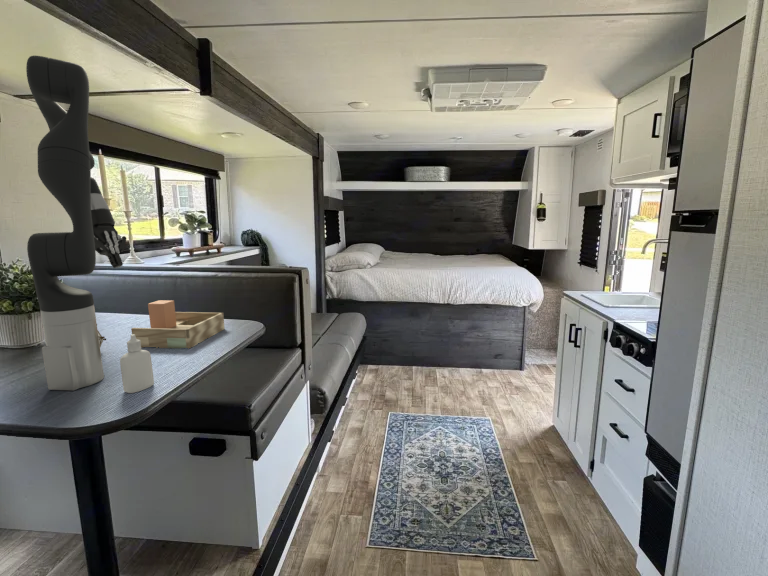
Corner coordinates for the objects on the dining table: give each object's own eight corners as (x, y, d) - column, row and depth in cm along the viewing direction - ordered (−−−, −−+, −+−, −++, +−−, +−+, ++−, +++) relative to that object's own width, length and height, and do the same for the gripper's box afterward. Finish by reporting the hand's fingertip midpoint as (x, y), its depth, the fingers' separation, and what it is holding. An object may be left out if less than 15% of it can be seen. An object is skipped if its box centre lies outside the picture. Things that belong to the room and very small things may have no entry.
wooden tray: (189, 348, 112) (187, 329, 111) (133, 347, 114) (131, 328, 113) (224, 329, 132) (223, 312, 131) (176, 327, 134) (174, 311, 133)
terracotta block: (166, 330, 120) (163, 304, 119) (150, 329, 121) (147, 303, 119) (176, 325, 125) (173, 300, 124) (161, 325, 126) (158, 300, 124)
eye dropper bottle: (124, 387, 87) (117, 334, 85) (154, 382, 90) (147, 330, 87) (123, 395, 83) (116, 339, 81) (154, 389, 86) (148, 335, 84)
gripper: (84, 205, 111) (109, 263, 112) (122, 208, 124) (145, 261, 125) (64, 216, 113) (89, 273, 114) (104, 218, 126) (126, 269, 127)
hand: (118, 266), depth 119 cm, fingers closed
